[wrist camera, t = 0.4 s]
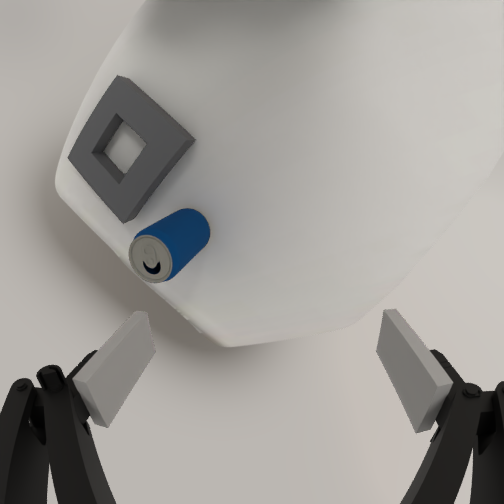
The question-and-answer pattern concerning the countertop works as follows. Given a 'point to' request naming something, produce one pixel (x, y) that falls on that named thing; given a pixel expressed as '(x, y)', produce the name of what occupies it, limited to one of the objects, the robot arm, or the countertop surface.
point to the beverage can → (168, 245)
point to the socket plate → (147, 163)
